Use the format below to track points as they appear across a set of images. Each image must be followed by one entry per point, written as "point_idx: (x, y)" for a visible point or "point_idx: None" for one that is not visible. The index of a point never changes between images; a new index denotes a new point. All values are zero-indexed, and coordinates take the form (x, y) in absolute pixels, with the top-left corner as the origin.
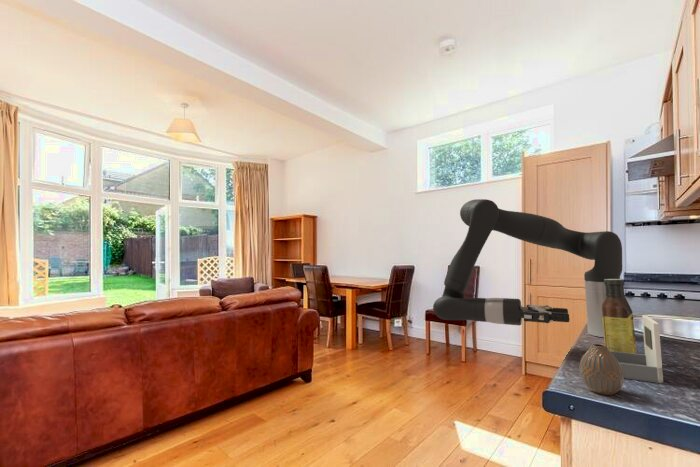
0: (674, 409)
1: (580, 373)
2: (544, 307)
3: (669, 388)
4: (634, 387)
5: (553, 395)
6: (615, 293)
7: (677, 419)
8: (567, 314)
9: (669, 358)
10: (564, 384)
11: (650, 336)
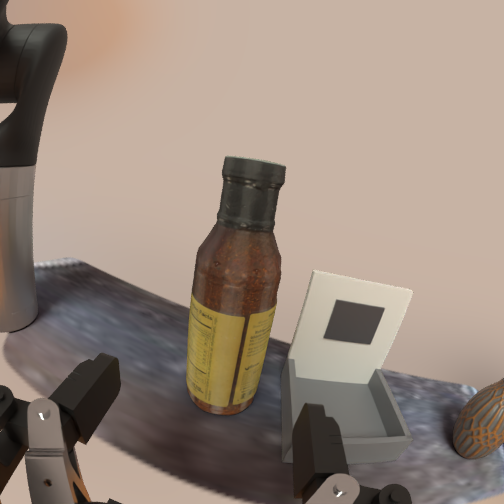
0: (455, 392)
1: (499, 446)
2: (65, 458)
3: None
4: (417, 416)
5: None
6: (274, 217)
7: (476, 393)
8: (321, 408)
9: (188, 327)
10: (485, 486)
11: (380, 320)
